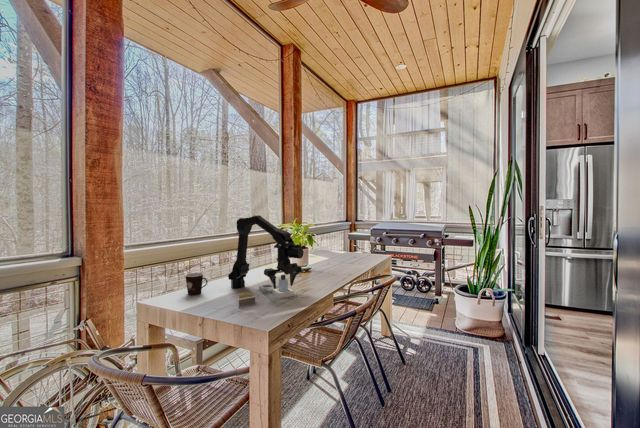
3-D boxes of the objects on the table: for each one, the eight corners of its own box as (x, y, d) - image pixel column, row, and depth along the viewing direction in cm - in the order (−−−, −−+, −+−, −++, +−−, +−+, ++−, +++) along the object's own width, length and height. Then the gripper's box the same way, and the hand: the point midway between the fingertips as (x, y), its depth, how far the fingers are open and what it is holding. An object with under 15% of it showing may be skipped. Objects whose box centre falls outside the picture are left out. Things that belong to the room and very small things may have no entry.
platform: (223, 306, 141) (223, 293, 141) (259, 299, 151) (259, 286, 151) (231, 314, 131) (231, 300, 131) (269, 306, 141) (269, 292, 141)
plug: (281, 296, 152) (281, 276, 151) (278, 294, 155) (278, 274, 154) (287, 295, 154) (287, 275, 153) (284, 293, 156) (284, 274, 156)
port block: (279, 298, 148) (279, 293, 148) (272, 293, 155) (272, 288, 155) (294, 295, 153) (294, 290, 153) (286, 291, 160) (286, 286, 159)
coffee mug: (182, 293, 159) (182, 274, 159) (198, 290, 165) (198, 272, 165) (192, 298, 151) (192, 278, 151) (209, 294, 157) (208, 275, 157)
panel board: (272, 304, 144) (272, 301, 144) (255, 292, 162) (255, 289, 162) (298, 298, 151) (298, 296, 151) (279, 288, 170) (279, 285, 170)
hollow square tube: (263, 293, 156) (263, 288, 156) (259, 290, 161) (259, 285, 161) (274, 291, 159) (274, 286, 159) (269, 288, 165) (269, 284, 165)
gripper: (272, 261, 141) (272, 294, 142) (307, 257, 151) (307, 288, 152) (263, 257, 151) (263, 288, 151) (296, 254, 161) (296, 283, 161)
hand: (283, 287), depth 154 cm, fingers open, 9 cm apart
